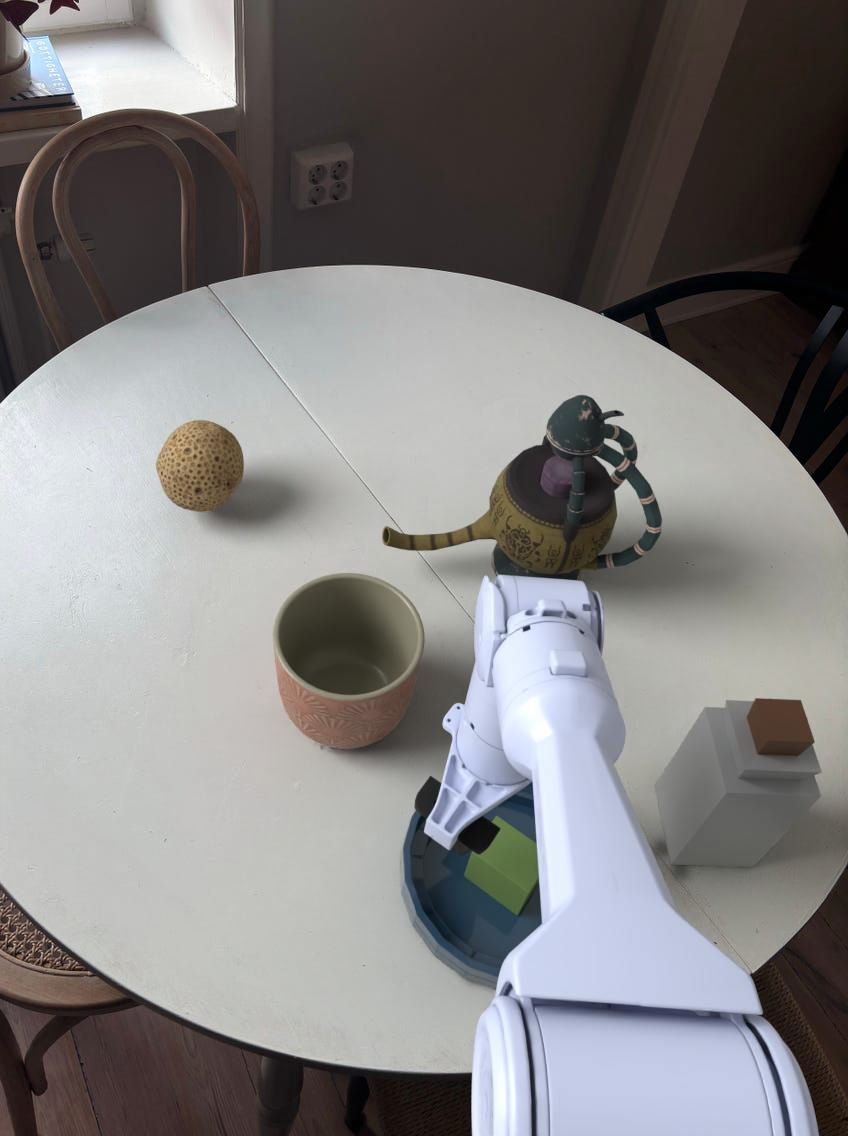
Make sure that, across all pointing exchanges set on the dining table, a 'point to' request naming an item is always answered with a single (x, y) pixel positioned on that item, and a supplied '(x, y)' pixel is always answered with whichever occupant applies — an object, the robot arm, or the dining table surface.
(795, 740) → the perfume bottle
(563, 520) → the teapot
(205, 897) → the dining table surface
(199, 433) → the natural sponge
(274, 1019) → the dining table surface
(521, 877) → the scrub pad
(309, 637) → the planter
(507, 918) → the bowl
